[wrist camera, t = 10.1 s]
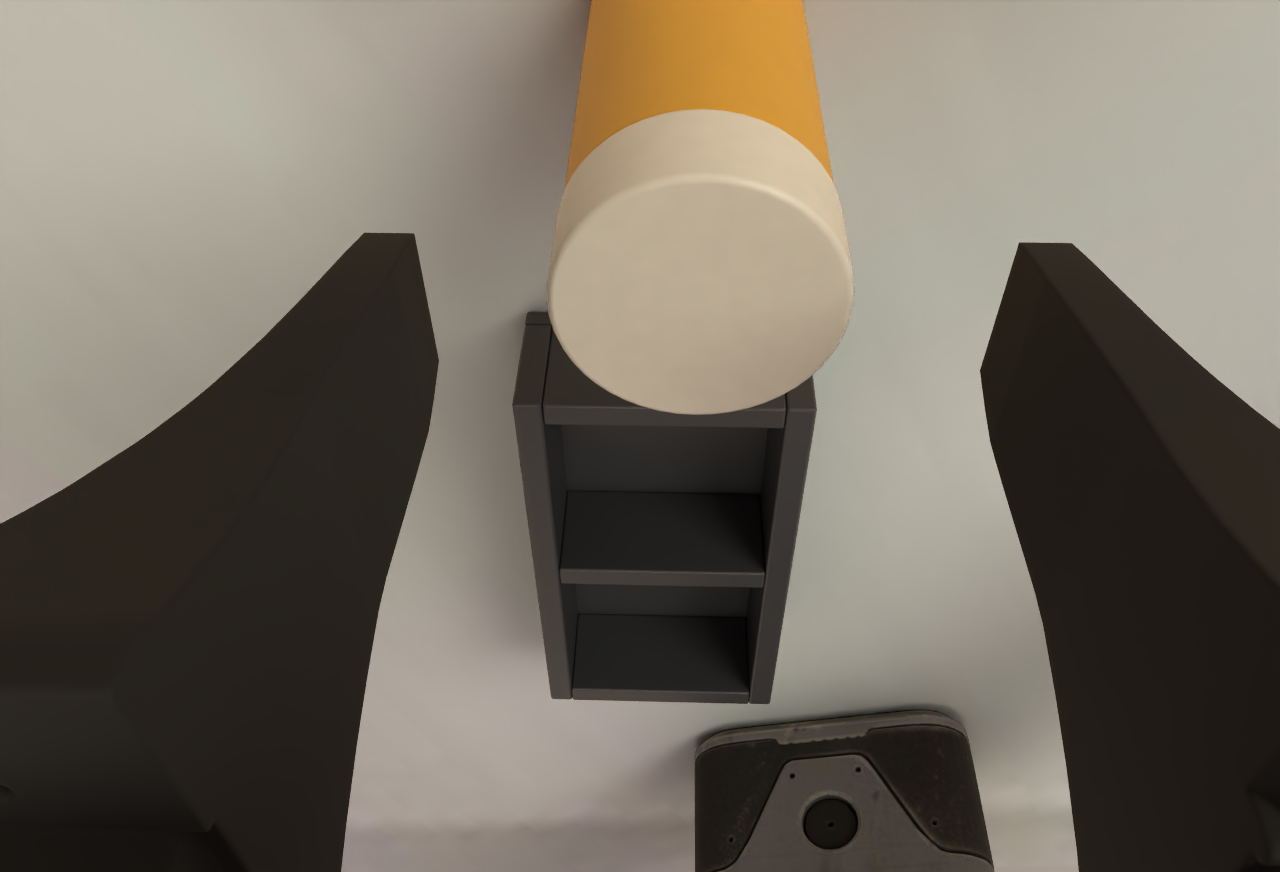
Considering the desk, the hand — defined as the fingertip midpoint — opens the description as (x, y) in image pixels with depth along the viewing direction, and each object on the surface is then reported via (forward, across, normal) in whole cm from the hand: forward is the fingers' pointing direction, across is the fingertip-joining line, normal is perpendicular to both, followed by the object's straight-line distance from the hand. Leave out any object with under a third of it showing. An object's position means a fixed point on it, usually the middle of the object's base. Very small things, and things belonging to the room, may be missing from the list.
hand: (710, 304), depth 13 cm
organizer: (+8, +1, +12) cm, 15 cm away
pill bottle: (+8, 0, 0) cm, 8 cm away
